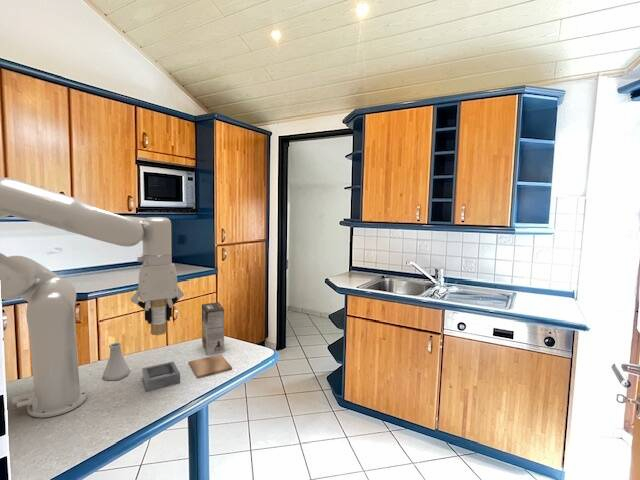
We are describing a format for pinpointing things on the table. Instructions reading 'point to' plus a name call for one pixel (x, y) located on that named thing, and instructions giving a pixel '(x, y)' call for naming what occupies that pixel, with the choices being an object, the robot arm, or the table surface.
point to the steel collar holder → (163, 380)
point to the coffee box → (213, 328)
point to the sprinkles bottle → (158, 317)
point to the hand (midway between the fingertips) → (158, 320)
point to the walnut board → (209, 366)
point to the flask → (116, 364)
